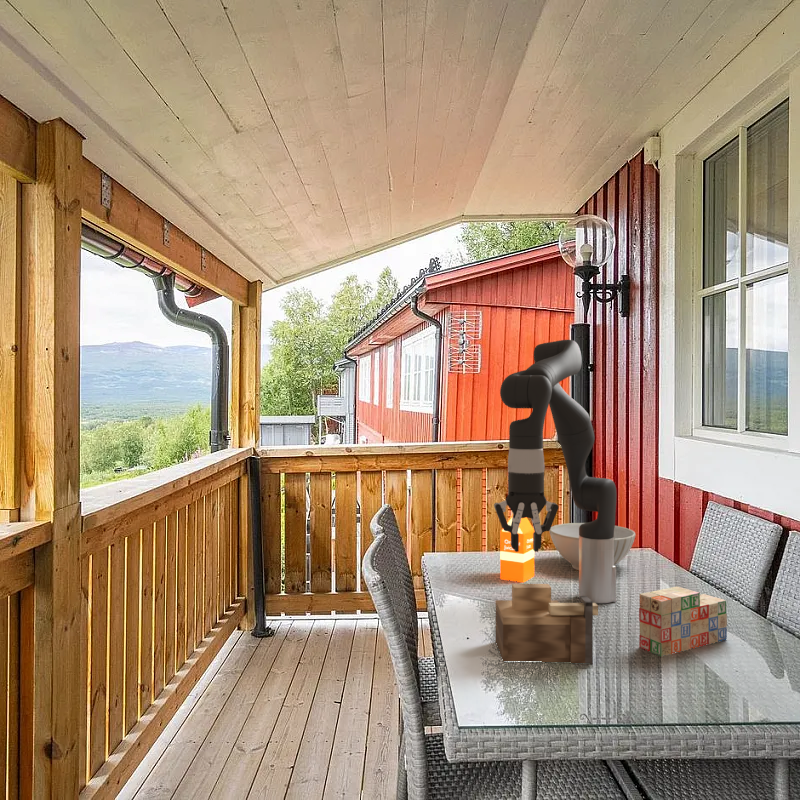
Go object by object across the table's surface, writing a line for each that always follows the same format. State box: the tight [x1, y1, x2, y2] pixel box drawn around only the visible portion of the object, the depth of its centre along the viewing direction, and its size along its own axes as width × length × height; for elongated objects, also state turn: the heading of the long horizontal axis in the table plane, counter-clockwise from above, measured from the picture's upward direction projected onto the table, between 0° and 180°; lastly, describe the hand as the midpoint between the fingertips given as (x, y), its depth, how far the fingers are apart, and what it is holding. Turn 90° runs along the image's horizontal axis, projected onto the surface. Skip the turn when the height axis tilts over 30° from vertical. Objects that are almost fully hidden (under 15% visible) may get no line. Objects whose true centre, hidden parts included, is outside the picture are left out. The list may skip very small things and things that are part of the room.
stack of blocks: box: [638, 586, 728, 657], centre depth 156 cm, size 21×6×12 cm, turn 118°
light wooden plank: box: [548, 602, 599, 616], centre depth 146 cm, size 10×2×2 cm, turn 90°
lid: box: [495, 583, 570, 625], centre depth 151 cm, size 14×12×8 cm
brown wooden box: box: [495, 596, 594, 665], centre depth 150 cm, size 18×13×13 cm
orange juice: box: [499, 513, 535, 584], centre depth 212 cm, size 8×9×20 cm
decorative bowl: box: [548, 522, 636, 571], centre depth 224 cm, size 27×27×12 cm
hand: (525, 550), depth 146 cm, fingers open, 3 cm apart
